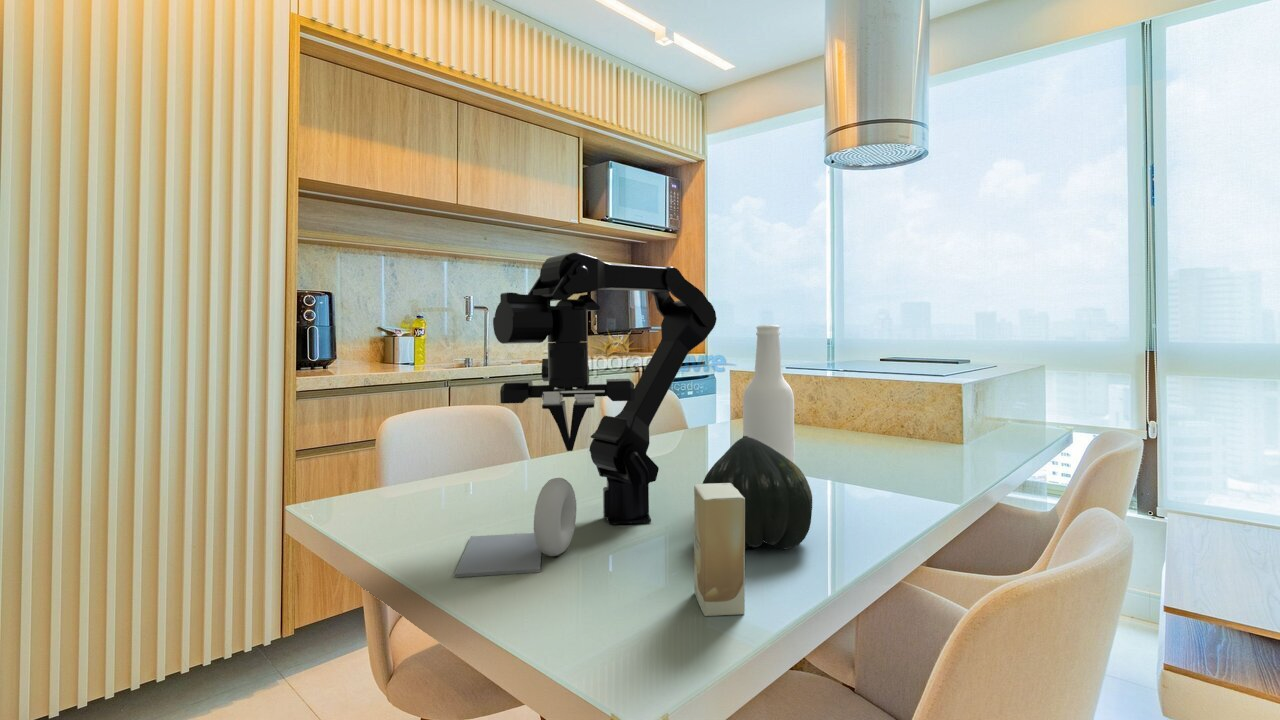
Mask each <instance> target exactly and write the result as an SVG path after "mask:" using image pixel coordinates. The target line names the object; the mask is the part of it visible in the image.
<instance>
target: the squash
mask: <svg viewBox="0 0 1280 720" xmlns="http://www.w3.org/2000/svg"><path fill="white" fill-rule="evenodd" d="M714 483H732V485H733V486H734V487H735V488H736V489H737V490H738V491H739V492H740V493H741V495H742V496H743V497H744V498H745V549H746V548H749V547H751V548H757V547H758V548H759V547H760V546H761V545H762V544H763V542H764V543H765V544H767V545H772V546H773V547H774V548H778V549H781V550H787V549H792V548H794V547H797V546H798V545H801V543H802V542H803V541H804V540H805V538H806V537H807V536H808V534H809V531H810V528H811V522H812V517H813V515H812V513H813V494H812V490H811V488H810V485H809V482H808V480H807V477H806V476H805V474H804V473H803V471H802V470H801V469H800V468H799V466H798V465H796V464H795V462H794V463H793V462H792V461H790V460H789V459H787V458H786V457H785V456H783V455H782V454H780V453H779V452H777V451H775V450H774V449H772V448H771V447H769V446H767V445H766V444H764V443H762V442H760V441H758V440H756V439H753V438H749V437H748V436H743V435H742V437H741V438H739V439H738V440H736V441H735V442H734V444H732V445H731V446H730V447H729V448H728V450H726V452H725V453H724V454H723V455H722V456H721V457H720V458H719V459H718V460H717V461H716V462H714V464H713V465H712V466H711V468H710V469H709V471H707V473H706V475H705V477H704V479H703V482H702V484H714Z"/></svg>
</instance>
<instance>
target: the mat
mask: <svg viewBox="0 0 1280 720" xmlns="http://www.w3.org/2000/svg"><path fill="white" fill-rule="evenodd" d="M541 561H542V552H541V550H540V549H539V547H538V545H537V543H536V539H535V534H534V532H525V533H508V534H506V533H505V534H493V535H492V534H491V535H489V534H488V535H474V536H473V535H472V536H470V538H469V541H468V542H467V544H466V547H465V549H464V552H463V553H462V557H461V559H460V561H459V563H458V566H457V568H456V570H455V572H454V578H464V577H465V578H466V577H467V578H469V577H482V576H483V577H484V576H497V575H498V576H499V575H511V574H512V575H516V574H528V573H531V574H532V573H540V572H541V566H542V565H541V563H542V562H541Z"/></svg>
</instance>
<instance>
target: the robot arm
mask: <svg viewBox="0 0 1280 720" xmlns="http://www.w3.org/2000/svg"><path fill="white" fill-rule="evenodd" d="M600 290H609V291H610V290H611V291H613V290H614V291H639V292H650V293H651V294H652V295H653V297H654V302H655V306H656V309H657V311H658V312H659V314H660V315H661V316H662V317H663V319H662V321H661V324H660V332H661V335H660V336H661V339H660V342H659V343H658V345H657V347H656V349H655V351H654V353H653V354H652V357H651V358H650V359H649V361H648V363H647V365H646V367H645V368H644V371H643V372H642V374H641V376H640V378H639V379H638V381H637V383H636V385H635V384H634V383H633V381H632V380H630V378H606V380H605V381H606V383H593V384H592V383H590V366H589V344H588V343H589V334H588V331H589V330H588V329H589V328H588V327H589V326H588V325H589V324H588V312H594V311H600V309H601V306H600V305H599V303H598V302H596V301H595V300H594V299H593V298H592V297H591V295H590V294H589V293H593V292H596V291H600ZM584 293H588V294H584ZM573 295H579V296H578V298H576V299H571V297H572V296H573ZM671 295H672V296H673V297H674V298H676V299H677V300H676V301H675V300H674V299H673V297H672V296H671ZM569 298H570V299H569ZM499 299H500V302H499V303H498V305H497V307H496V309H495V313H494V317H493V318H492V325H493V326H492V328H493V331H494V335H495V338H496V340H497V342H499V343H500V344H502V345H504V344H505V345H506V344H509V345H510V344H541V343H543V342H545V341H546V339H547V358H541V359H542V360H541V379H542V381H543V382H548V384H541V385H540V384H538V385H537V384H536V385H533V380H508V381H507V382H504V383H503V384H502V385H501V387H500V392H499V394H500V395H499V397H500V401H499V402H500V404H523V403H524V402H525V401H526V400H528V399H530V398H531V399H532V398H534V399H538V398H540V399H541V401H543V402H542V405H541V409H544V410H549V412H550V414H551V416H552V418H553V419H554V421H555V423H556V425H557V428H558V430H559V433H560V436H561V439H562V441H563V443H564V447H565V450H566V451H567V452H573V451H574V447H575V443H576V440H577V436H578V434H579V433H578V432H579V429H580V425H581V424H582V421H583V419H584V416H585V414H586V412H587V409H593V408H595V402H596V401H595V399H596V397H608V399H609V400H611V401H612V402H626V403H625V405H624V407H623V408H622V410H621V411H620V413H618V414H617V415H615V416H611V415H610V416H609V415H603V417H602V418H601V419H600V421H599V424H598V426H597V429H596V430H595V431H594V433H593V434H591V435H590V438H591V439H592V441H591V442H590V445H589V452H590V458H591V461H592V463H593V465H595V466H596V469H597V472H598V475H599V477H601V478H606V486H603V488H602V501H603V502H602V504H603V505H602V507H603V509H602V511H603V516H604V517H605V519H607V520H606V521H607V523H608V524H609V525H621V524H622V525H625V524H626V525H627V524H641V523H645V524H646V523H651V522H652V518H651V516H650V509H649V508H650V506H649V505H650V499H649V497H650V492H649V490H650V489H649V485H650V483H653V482H656V480H657V478H658V473H659V466H658V465H657V464H656V463H655V461H653V460H652V458H650V457H649V455H648V454H647V452H648V449H649V447H650V426H651V423H652V422H653V420H654V418H655V416H656V414H657V412H658V410H659V408H660V406H661V405H662V402H663V400H664V399H665V397H666V396H667V393H668V391H669V390H670V388H671V386H672V384H673V382H674V380H675V378H676V376H677V375H678V373H679V371H680V370H681V367H682V365H683V363H684V362H685V359H686V358H687V355H688V354H689V353H690V352H692V351H693V349H695V348H696V347H698V346H699V345H701V344H702V343H703V342H704V341H705V340H706V339H707V338H708V336H709V335H710V334H711V332H712V331H713V329H714V328H715V326H716V323H717V319H718V318H717V314H716V310H715V308H714V306H713V305H712V303H711V302H710V301H709V299H707V297H706V295H705V294H704V292H703V291H702V290H700V289H699V288H698V287H696V286H695V285H694V284H693V283H691V282H689V281H688V279H686V278H685V277H684V276H683V274H682V272H681V271H680V270H679V269H678V268H676V267H674V266H670V265H669V266H663V267H662V266H650V265H649V266H648V265H647V266H646V265H636V264H635V265H632V264H621V263H618V264H617V263H609V262H605V261H603V260H601V259H599V258H598V257H595V256H592V255H589V254H585V253H581V252H577V251H576V252H571V253H567V254H561V255H556V256H552V257H551V256H550V257H548V258H547V259H546V260H545V261H544V262H543V263H542V266H541V268H540V273H539V277H538V278H537V280H536V281H535V283H534V284H533V286H532V287H531V289H530V290H529V292H528V294H522V293H518V292H509V291H508V292H502V293H501V294H500V298H499ZM554 301H555V302H556V301H558V302H557V304H555V305H551V302H554ZM564 398H574V403H572V404H573V405H572V406H573V407H572V414H571V422H570V429H569V424H568V419H567V418H568V417H567V410H566V409H567V407H566V400H564ZM569 430H570V432H569Z"/></svg>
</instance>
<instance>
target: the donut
mask: <svg viewBox="0 0 1280 720" xmlns="http://www.w3.org/2000/svg"><path fill="white" fill-rule="evenodd" d="M575 493H576V492H575V490H574V488H573V485H572V484H571V483H570V482H569V480H567V479H566V478H563V477H555V478H554V477H553V478H551V479H549V480H548V481H546V483H545V484H544V485H543V486H542V487H541V490H540V491H539V494H538V496H537V500H536V502H535V503H536V504H535V506H534V507H535V509H534V514H533V533H534V534H535V539H536V543H537V545H538V547H539V549H540V550H541V553H543V554H545V555H546V556H550V557H557V556H559V555H561V554H562V553H564V552H565V551H566V550H567V549H568V547H569V546H570V544H571V541H572V539H573V536H574V532H575V527H576V520H577V499H576V494H575Z"/></svg>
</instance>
